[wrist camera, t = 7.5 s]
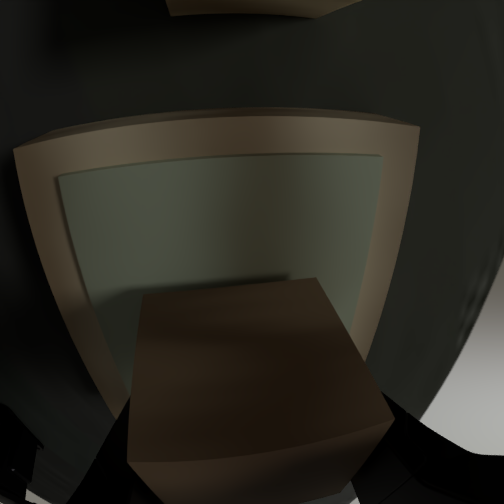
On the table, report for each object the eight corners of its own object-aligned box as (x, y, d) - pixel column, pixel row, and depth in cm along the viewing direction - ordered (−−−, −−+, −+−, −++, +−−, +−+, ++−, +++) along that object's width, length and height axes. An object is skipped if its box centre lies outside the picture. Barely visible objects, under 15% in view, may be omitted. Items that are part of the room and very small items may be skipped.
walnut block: (171, 396, 11) (179, 518, 7) (143, 293, 9) (126, 462, 4) (299, 381, 12) (339, 492, 8) (316, 277, 9) (395, 418, 5)
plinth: (127, 388, 16) (123, 436, 13) (52, 130, 9) (8, 151, 6) (330, 364, 18) (350, 408, 15) (373, 113, 11) (425, 129, 8)
